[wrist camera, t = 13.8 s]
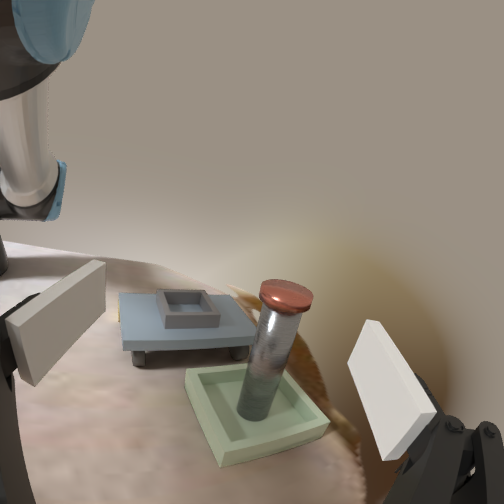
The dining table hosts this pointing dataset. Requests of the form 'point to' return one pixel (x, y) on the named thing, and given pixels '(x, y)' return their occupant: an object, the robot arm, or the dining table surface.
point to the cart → (182, 323)
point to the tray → (241, 430)
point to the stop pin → (271, 345)
